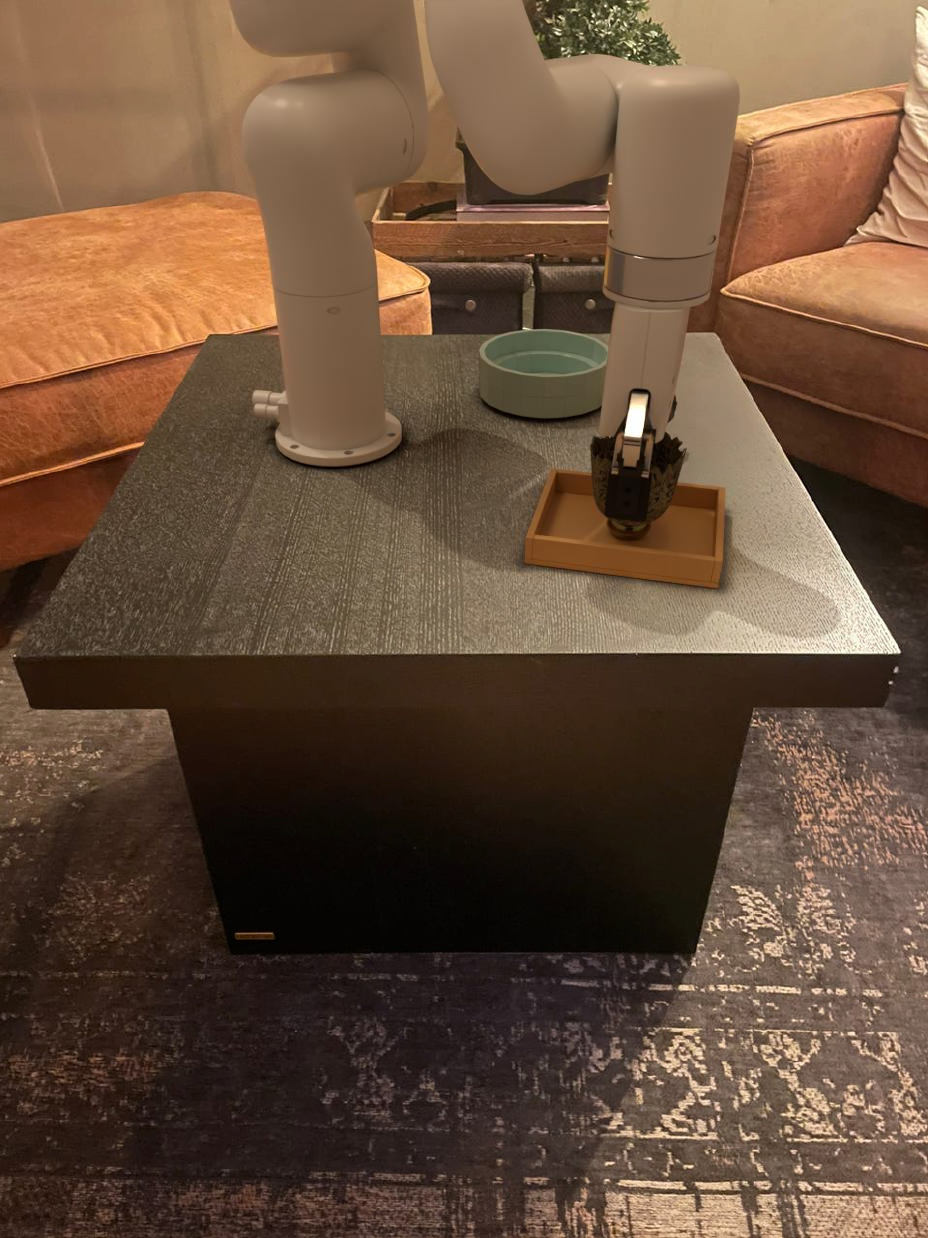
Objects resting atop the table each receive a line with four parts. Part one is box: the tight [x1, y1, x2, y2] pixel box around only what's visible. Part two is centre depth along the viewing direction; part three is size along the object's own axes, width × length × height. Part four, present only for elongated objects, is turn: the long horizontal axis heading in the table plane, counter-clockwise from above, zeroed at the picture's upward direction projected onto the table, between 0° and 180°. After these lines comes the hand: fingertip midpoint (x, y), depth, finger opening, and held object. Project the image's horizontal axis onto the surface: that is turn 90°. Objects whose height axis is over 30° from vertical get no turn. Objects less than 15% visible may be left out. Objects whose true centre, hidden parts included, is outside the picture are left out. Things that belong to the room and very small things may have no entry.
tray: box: [524, 467, 727, 589], centre depth 76 cm, size 15×12×2 cm
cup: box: [589, 428, 687, 540], centre depth 74 cm, size 8×7×8 cm
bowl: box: [478, 328, 609, 419], centre depth 100 cm, size 14×14×5 cm
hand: (631, 488), depth 75 cm, fingers open, 9 cm apart
